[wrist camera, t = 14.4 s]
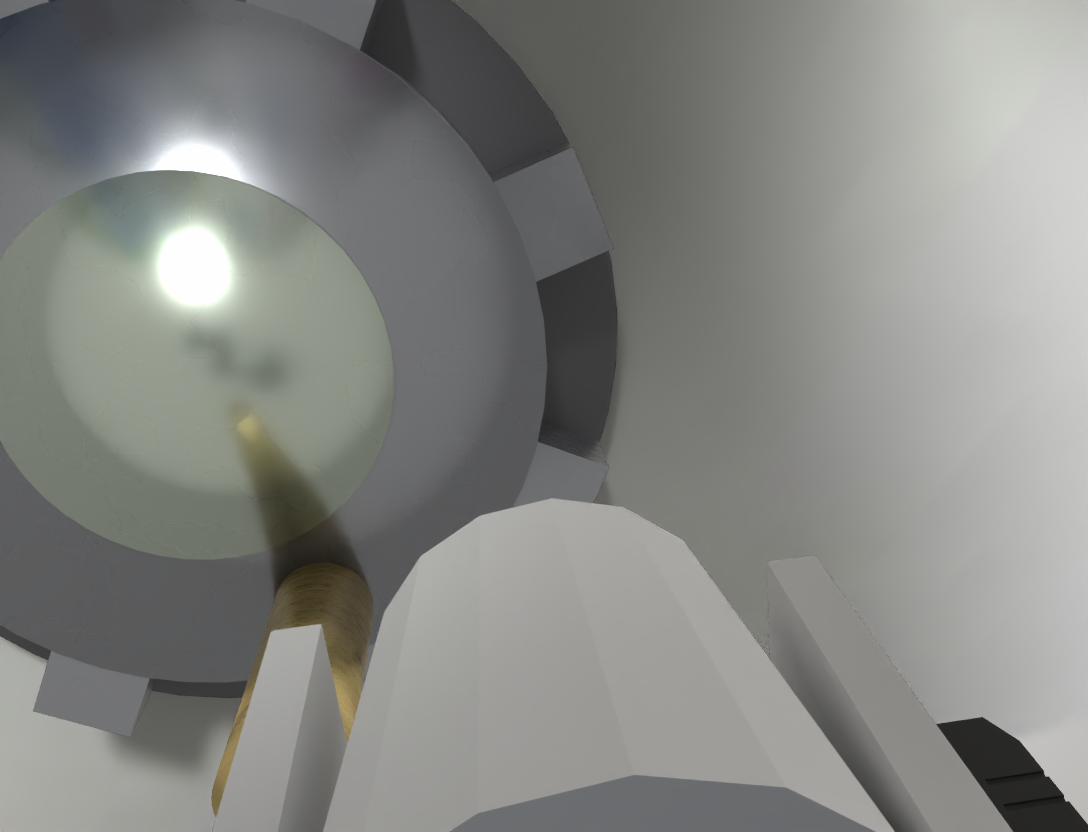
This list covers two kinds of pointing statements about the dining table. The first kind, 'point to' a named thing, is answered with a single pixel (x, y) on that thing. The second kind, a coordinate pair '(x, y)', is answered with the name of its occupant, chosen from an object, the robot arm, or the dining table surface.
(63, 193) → the sprocket
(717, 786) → the shot glass
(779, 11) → the dining table surface
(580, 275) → the sprocket base
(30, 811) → the dining table surface
